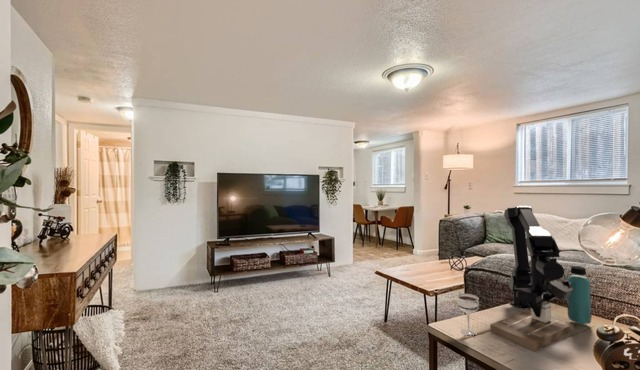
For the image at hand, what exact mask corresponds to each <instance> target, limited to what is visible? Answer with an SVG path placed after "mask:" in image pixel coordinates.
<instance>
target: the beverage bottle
mask: <svg viewBox="0 0 640 370" xmlns="http://www.w3.org/2000/svg"><path fill="white" fill-rule="evenodd" d="M570 273H571V274H573V275H570V276H568V277H567V279H566V281H569V282H571V283H572V288H573V292H572V293H571V294H570V296H569V298H566V299H567V304H566V306H567V317H568V320H570V321H571V322H575V323H578V324H582V325H583V324H584V325H590V324H591V322H592V316H593V315H592V299H591V298H592V297H591V281H590V279H588V278H587V277H586V276H585V275H587V271H586V268H585V267H583V266H578V265H577V266H576V265H574V266H573V265H572V266H571V268H570Z"/></svg>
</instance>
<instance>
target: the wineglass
mask: <svg viewBox="0 0 640 370" xmlns="http://www.w3.org/2000/svg"><path fill="white" fill-rule="evenodd" d="M456 297H457V301H456V304H457V307H458V308H459V309H460V310H461V311H462V312H463V313H465V314H466V320H467V323H466V324H467V328H462V329H460V333H461V334H462V335H464V336H467V335H470V336H469V337H475V336H477V335H478V334H477V332H476V331H475V330H473V329H471V328H470V315H471V314H474V313H476V312H477V311H478V310H479V308H480V303H479V299H480V297H478V296H477V295H475V294H471V293H459V294H457V296H456ZM471 335H473V336H471ZM474 335H475V336H474Z"/></svg>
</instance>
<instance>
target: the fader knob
mask: <svg viewBox="0 0 640 370" xmlns="http://www.w3.org/2000/svg"><path fill="white" fill-rule="evenodd" d="M531 310H532V309H531ZM551 317H552V302H551V303H550V302H546V301H545V302H543V303H542V308H541V315H540V317H537V316H536V315H535V313H534V311H533V310H532V318H534V319H536V320H539V321H542V322H545V323H546V322H548V321H551Z"/></svg>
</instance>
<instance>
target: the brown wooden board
mask: <svg viewBox="0 0 640 370" xmlns="http://www.w3.org/2000/svg"><path fill="white" fill-rule="evenodd" d="M489 325H490V326H489V327H490V328H489V330H490V332H489V333H492V334H495V335H497V336H499V337H502V338H503V339H506V340H508V341H511V342H513V343H514V344H517V345H519V346H521V347H524V348H526V349H527V350H528V349H529V350H531V351H533V352H536V351H539V350H540V349H542V348H544V347H546V346H548V345H550V344H552V343H554V342H556V341H558V340H559V339H562V338H564V337H565V336H567V335H570V334H571V333H573V332H574V323H572V322H568V321H567V320H563V319H560V318H557V317H555V316H551V321H548V322H546V323H545V322H542V321H539V320H536V319H534V318H532V309H530V308H529V309H524V310H523V311H521V312H518V313H515V314H513V315H510V316H508V317H505V318H503V319H500V320H498V321H495V322H493V323H490V324H489Z"/></svg>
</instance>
